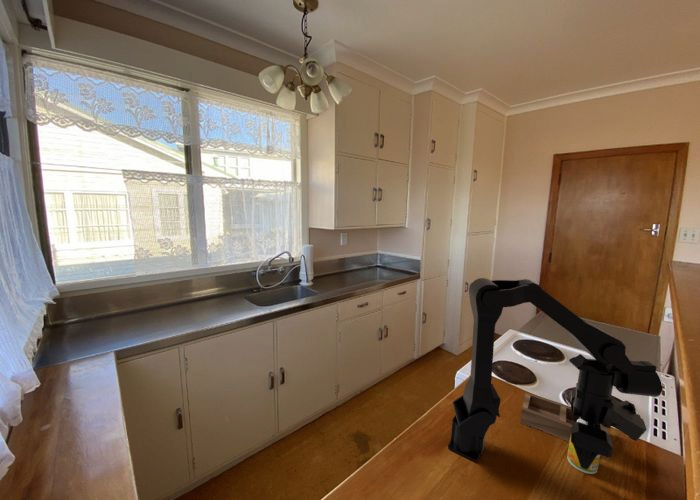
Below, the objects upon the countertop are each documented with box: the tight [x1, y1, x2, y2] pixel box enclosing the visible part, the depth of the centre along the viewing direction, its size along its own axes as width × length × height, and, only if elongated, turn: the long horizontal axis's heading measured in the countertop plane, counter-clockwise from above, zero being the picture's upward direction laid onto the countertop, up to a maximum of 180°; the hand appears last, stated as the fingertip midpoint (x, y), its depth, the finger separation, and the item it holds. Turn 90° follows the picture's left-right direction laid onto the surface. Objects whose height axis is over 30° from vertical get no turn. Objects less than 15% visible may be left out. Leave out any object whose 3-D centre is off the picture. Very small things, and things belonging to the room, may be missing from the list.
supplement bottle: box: [566, 419, 601, 475], centre depth 67 cm, size 5×5×10 cm
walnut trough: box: [519, 391, 610, 443], centre depth 78 cm, size 9×18×4 cm, turn 54°
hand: (583, 453), depth 67 cm, fingers open, 9 cm apart
